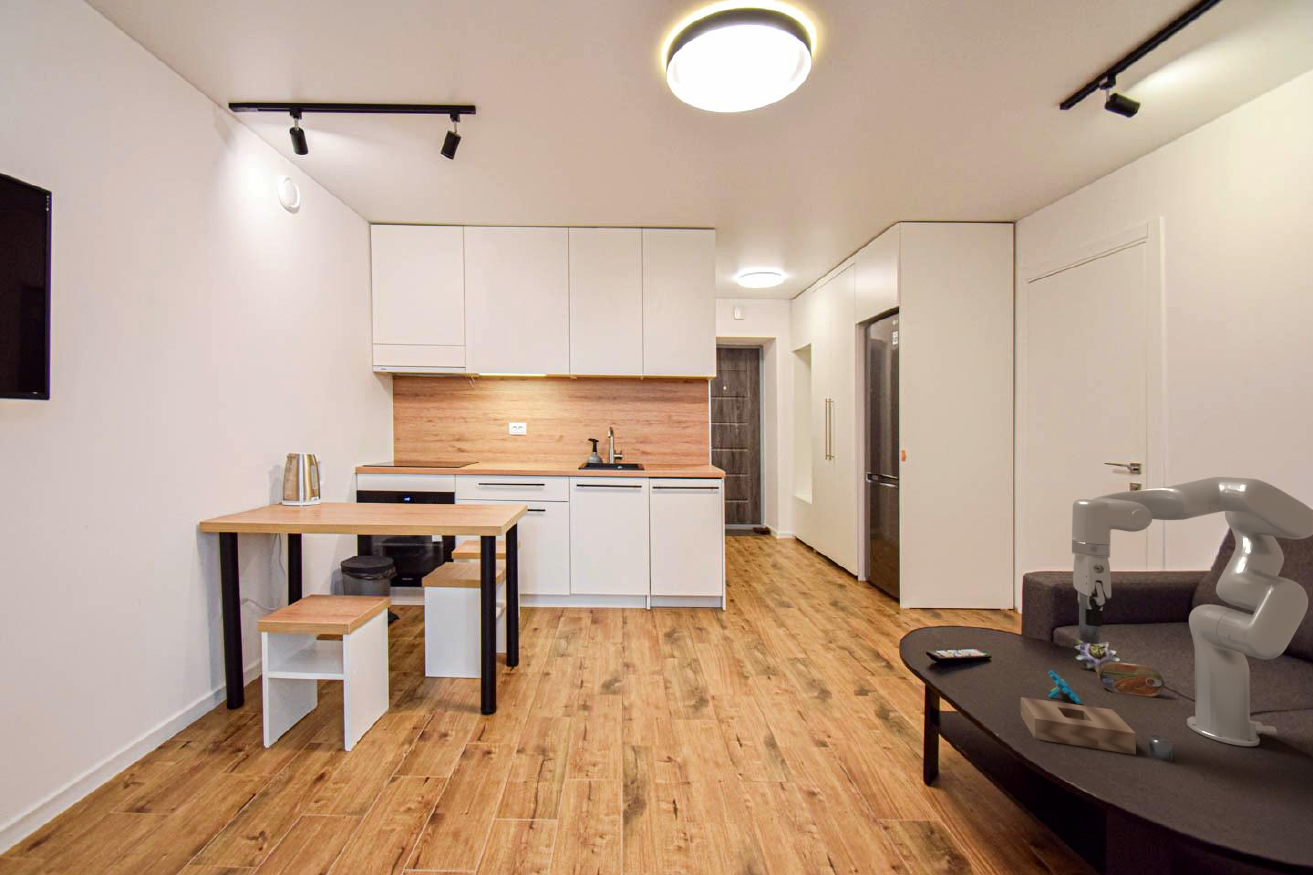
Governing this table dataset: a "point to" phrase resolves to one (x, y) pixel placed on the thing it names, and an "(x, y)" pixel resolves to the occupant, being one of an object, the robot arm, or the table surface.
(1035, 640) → the table surface
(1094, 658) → the passion flower
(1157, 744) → the short pin
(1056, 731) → the hole block
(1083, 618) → the long pin
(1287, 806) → the table surface
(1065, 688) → the gear
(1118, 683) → the tin
